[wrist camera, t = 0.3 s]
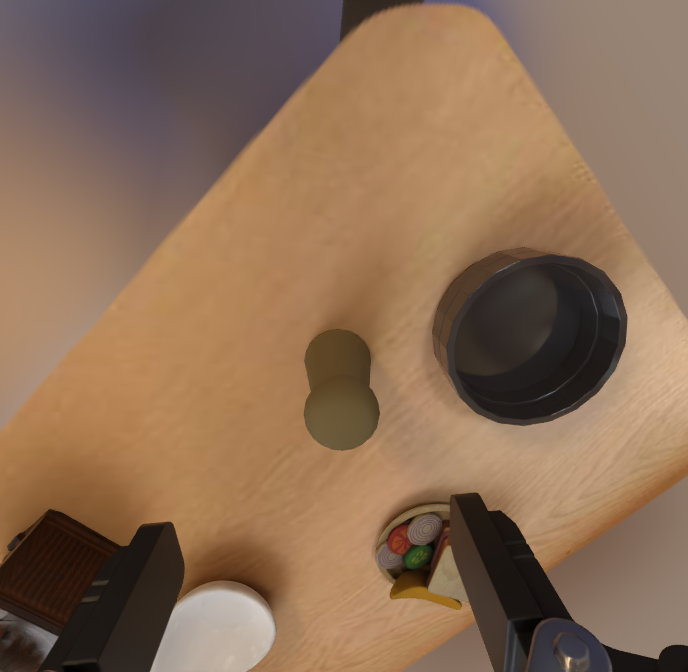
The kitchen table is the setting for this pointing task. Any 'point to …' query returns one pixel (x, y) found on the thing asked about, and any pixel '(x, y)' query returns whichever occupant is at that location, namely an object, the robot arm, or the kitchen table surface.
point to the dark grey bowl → (529, 335)
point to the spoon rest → (216, 630)
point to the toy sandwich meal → (421, 557)
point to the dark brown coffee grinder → (45, 586)
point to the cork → (340, 391)
